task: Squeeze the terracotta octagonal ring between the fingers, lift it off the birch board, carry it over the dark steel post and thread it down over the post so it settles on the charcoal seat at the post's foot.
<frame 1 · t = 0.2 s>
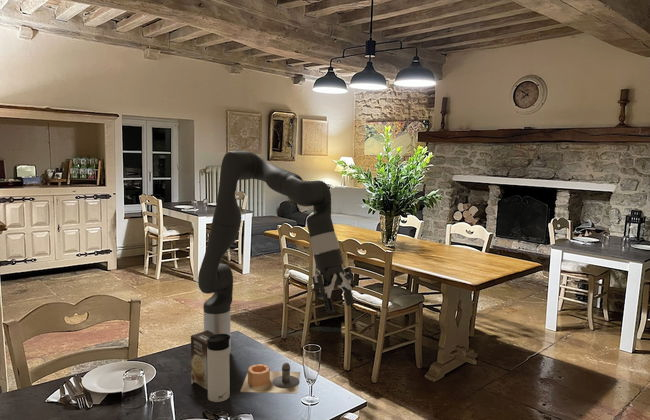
hand: (340, 308, 129), 31 cm above the table, tool tilted 20°, fingers open, 8 cm apart
post board: (271, 385, 149), on the table
coffee box: (207, 386, 149), on the table
travel mug: (219, 401, 140), on the table
ring: (258, 381, 149), point 1 cm above the table, touching post board
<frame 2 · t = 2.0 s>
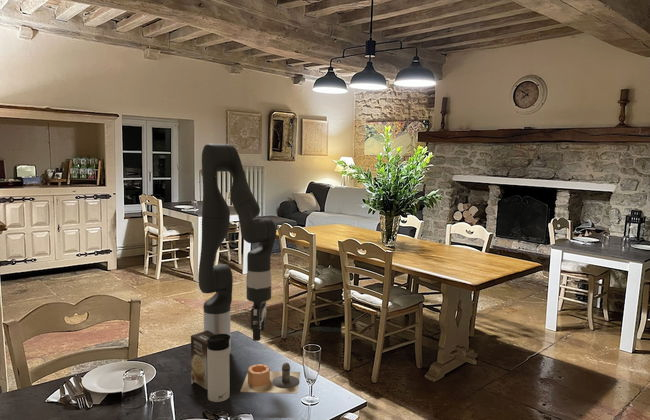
hand: (259, 335, 147), 16 cm above the table, tool pointing down, fingers open, 8 cm apart
nothing on the table moved.
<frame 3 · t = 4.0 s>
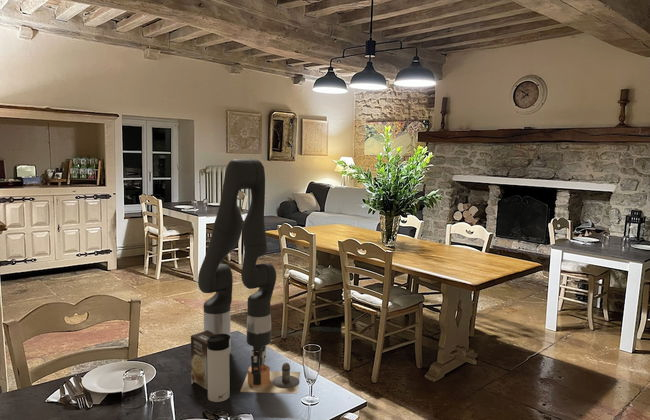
hand: (258, 379, 149), 2 cm above the table, tool pointing down, fingers closed on ring, 6 cm apart
ring: (258, 381, 149), point 2 cm above the table, touching gripper, post board
everything else where it was.
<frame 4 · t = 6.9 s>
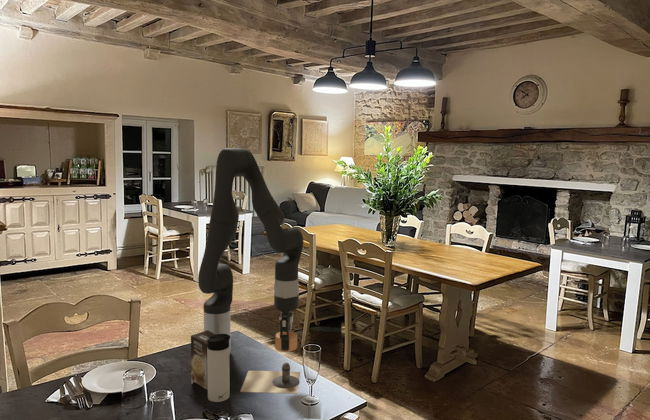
hand: (286, 345, 147), 13 cm above the table, tool pointing down, fingers closed on ring, 6 cm apart
ring: (286, 347, 148), point 13 cm above the table, touching gripper
everything else where it was.
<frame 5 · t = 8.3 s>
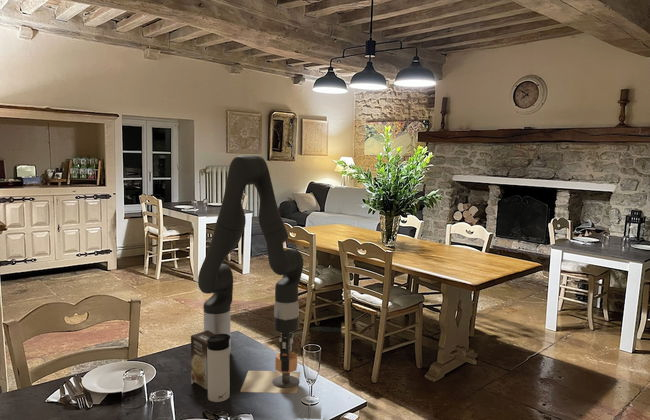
hand: (286, 366, 148), 7 cm above the table, tool pointing down, fingers closed on ring, 6 cm apart
ring: (286, 368, 148), point 6 cm above the table, touching gripper
everything else where it was.
when the fingers open (5 cm above the table, at t = 9.6 s): ring drops 3 cm, resting on post board.
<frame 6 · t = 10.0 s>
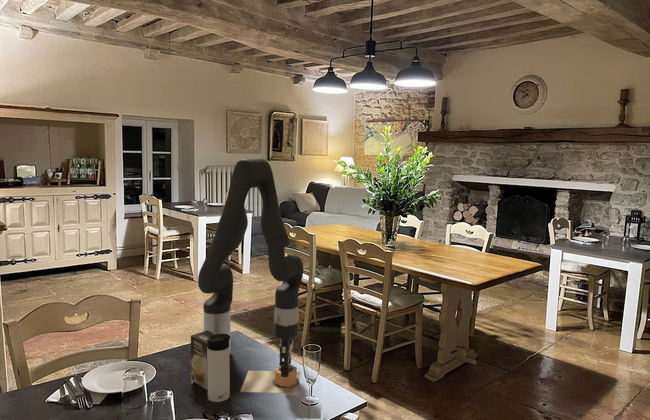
hand: (286, 370, 148), 5 cm above the table, tool pointing down, fingers open, 8 cm apart
ring: (285, 381, 149), point 2 cm above the table, touching post board
everything else where it was.
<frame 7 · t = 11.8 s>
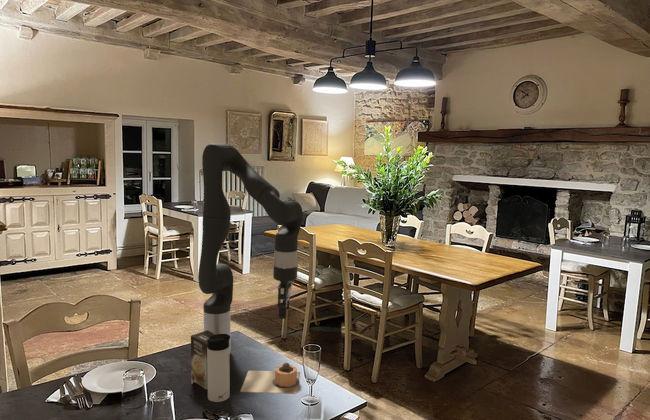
hand: (284, 313, 152), 22 cm above the table, tool pointing down, fingers open, 8 cm apart
nothing on the table moved.
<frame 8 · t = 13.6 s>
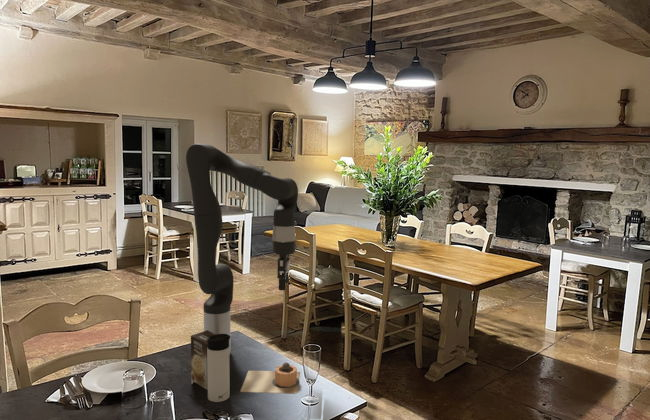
hand: (283, 286, 160), 28 cm above the table, tool pointing down, fingers open, 8 cm apart
nothing on the table moved.
at the end: ring 0.0 cm from the target spot on the post board, point 1.6 cm above the post board's base; ring tilted 0°; the gripper is holding nothing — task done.
